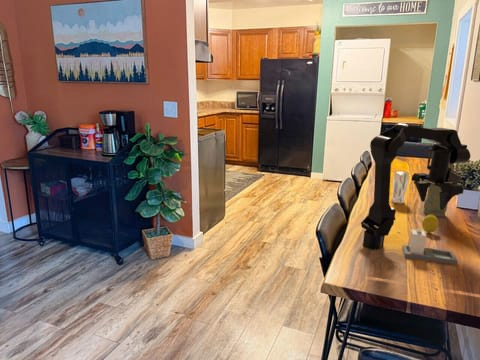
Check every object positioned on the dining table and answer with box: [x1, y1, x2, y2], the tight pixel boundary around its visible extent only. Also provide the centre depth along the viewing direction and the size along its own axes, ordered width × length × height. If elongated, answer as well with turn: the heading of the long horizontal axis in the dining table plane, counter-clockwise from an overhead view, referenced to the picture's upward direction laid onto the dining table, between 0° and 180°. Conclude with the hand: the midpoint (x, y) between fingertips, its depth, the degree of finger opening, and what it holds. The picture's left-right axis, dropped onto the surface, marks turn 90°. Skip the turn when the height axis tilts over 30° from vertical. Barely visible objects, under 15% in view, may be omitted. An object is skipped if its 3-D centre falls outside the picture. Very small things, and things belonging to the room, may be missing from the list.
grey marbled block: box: [391, 170, 410, 205], centre depth 175 cm, size 7×7×15 cm
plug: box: [408, 228, 427, 255], centre depth 119 cm, size 4×4×9 cm
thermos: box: [423, 143, 460, 219], centre depth 156 cm, size 9×12×35 cm
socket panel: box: [401, 244, 459, 266], centre depth 119 cm, size 16×7×2 cm, turn 73°
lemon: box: [421, 214, 439, 234], centre depth 138 cm, size 6×6×8 cm
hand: (432, 205), depth 130 cm, fingers open, 9 cm apart
